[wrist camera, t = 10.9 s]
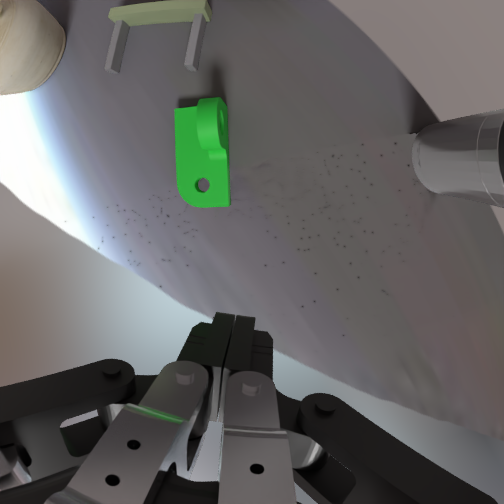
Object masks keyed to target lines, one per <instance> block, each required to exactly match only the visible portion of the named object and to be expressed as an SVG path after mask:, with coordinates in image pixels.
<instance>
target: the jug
mask: <svg viewBox="0 0 504 504" xmlns="http://www.w3.org/2000/svg"><path fill="white" fill-rule="evenodd" d="M65 44H66V36H65V32H64V29H63V28H62V26H61V25H60V24H59V23H58V21H57V20H56V19H55V18H54V17H53V16H52V15H51V14H50V13H49V12H48V11H47V10H46V9H45V8H44V7H43V6H42V5H41V4H40V3H39V2H38V1H36V0H0V95H7V94H16V93H22V92H26V91H31V90H34V89H36V88H37V87H39V86H40V85H42V84H43V83H44V82H45V81H46V80H47V79H48V78H49V77H50V76H51V74H52V73H53V72H54V70H55V69H56V67H57V66H58V64H59V62H60V60H61V58H62V55H63V52H64V49H65Z"/></svg>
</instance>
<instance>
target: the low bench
mask: <svg viewBox="0 0 504 504" xmlns="http://www.w3.org/2000/svg"><path fill="white" fill-rule="evenodd" d="M211 16H212V11H211V9H210V6H209V4H208V2H207V0H170V1H158V2H149V3H141V4H134V5H127V6H121V7H115V8H111V9H110V13H109V16H108V18H110V19H111V20H112V21H113V22H115V27H114V30H113V34H112V38H111V42H110V46H109V50H108V54H107V59H106V63H105V68H104V70H106V71H108V72H110V73H112V74H118V73H119V72H120V67H121V62H122V57H123V53H124V48H125V44H126V40H127V36H128V32H129V28H130V26H137V25H146V24H158V23H173V22H193V23H192V28H191V33H190V38H189V43H188V48H187V53H186V58H185V64H184V65H185V67H186V68H187V69H188V70H189V71H197V70H198V64H199V58H200V53H201V47H202V42H203V37H204V32H205V27H206V22H210V21H211Z"/></svg>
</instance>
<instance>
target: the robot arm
mask: <svg viewBox="0 0 504 504" xmlns="http://www.w3.org/2000/svg"><path fill="white" fill-rule="evenodd" d="M412 161H413V166H414V169H415V173H416V174H417V176H418V178H419V180H420V181H421V182H422V184H423V185H424V186H425V187H427V188H428V189H429V190H431V191H433V192H435V193H439V194H443V195H448V196H453V197H458V198H462V199H467V200H472V201H476V202H481V203H485V204H489V205H494V206H498V207H502V208H504V109H500V110H496V111H490V112H486V113H480V114H476V115H471V116H466V117H461V118H457V119H452V120H447V121H443V122H439V123H434V124H430V125H428V126H426V127H424V128H423V129H422V130H421V131H420V132H419V133H418V135H417V136H416V138H415V141H414V143H413V148H412ZM254 326H255V317H248V316H241V315H237V316H236V320H235V315H233V314H227V313H220V312H216V314H215V317H214V319H213V322H212V324H210V323H204V322H201V323H199V324H198V325H196V326H194V327H193V328H192V330H191V332H190V334H189V336H188V338H187V340H186V342H185V344H184V346H183V348H182V350H181V352H180V354H179V356H178V358H177V361H175V362H172V363H169V364H167V365H166V366H165V367H164V368H163V369H162V370H161V372H160V374H158V375H135V372H134V369H133V367H132V366H131V365H130V364H129V363H127V362H125V361H122V360H118V359H105V360H101V361H97V362H94V363H90V364H87V365H84V366H80V367H77V368H73V369H69V370H66V371H62V372H58V373H55V374H51V375H47V376H43V377H40V378H36V379H32V380H28V381H24V382H20V383H16V384H12V385H8V386H3V387H0V504H301V503H299V502H297V501H296V493H295V486H294V482H295V483H296V484H297V485H298V486H299V487H300V488H301V489H303V490H304V491H305V492H306V493H307V494H308V495H309V496H310V497H311V498H312V499H313V500H314V501H316V502H317V503H318V504H498V503H497V502H496V501H495V500H494V499H493V498H492V497H491V496H489V495H487V494H485V493H484V492H482V491H480V490H478V489H477V488H475V487H473V486H471V485H470V484H468V483H466V482H464V481H463V480H461V479H459V478H458V477H456V476H454V475H453V474H451V473H449V472H448V471H446V470H444V469H443V468H441V467H440V466H438V465H436V464H435V463H433V462H432V461H430V460H429V459H427V458H425V457H424V456H422V455H421V454H419V453H417V452H416V451H414V450H413V449H411V448H410V447H408V446H407V445H405V444H404V443H402V442H401V441H399V440H398V439H396V438H395V437H393V436H392V435H391V434H389V433H387V432H386V431H385V430H383V429H382V428H380V427H379V426H377V425H376V424H374V423H373V422H372V421H370V420H369V419H367V418H365V417H364V416H363V415H362V414H360V413H359V412H357V411H356V410H355V409H353V408H352V407H350V406H349V405H348V404H346V403H345V402H344V401H342V400H341V399H339V398H337V397H335V396H333V395H330V394H325V393H314V394H311V395H308V396H306V397H305V398H304V399H303V400H302V401H298V400H295V399H292V398H289V397H287V396H285V395H283V394H282V393H280V392H279V391H278V390H277V389H276V388H275V384H274V382H273V339H272V337H271V336H270V335H269V333H268V332H265V331H258V330H254ZM219 408H220V411H219ZM96 409H97V412H98V416H97V417H94V418H91V419H88V420H85V421H82V422H79V423H76V424H73V425H70V426H67V427H63V428H60V425H61V423H62V422H63V421H65V420H66V419H69V418H73V417H76V416H79V415H82V414H85V413H88V412H91V411H94V410H96ZM218 412H219V422H222V423H223V427H222V436H221V446H220V458H219V470H218V481H213V482H212V481H211V482H194V481H190V480H189V479H190V476H191V474H192V471H193V468H194V466H195V463H196V460H197V458H198V455H199V452H200V450H201V447H202V444H203V441H204V438H205V432H206V430H207V427H208V423H209V421H215V422H216V421H217V417H218ZM331 455H332V456H333V457H332V456H331ZM337 460H338V461H339V462H338V461H337ZM342 464H343V465H344V466H343V465H342ZM347 468H348V469H349V470H348V469H347Z"/></svg>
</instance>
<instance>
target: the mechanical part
mask: <svg viewBox="0 0 504 504" xmlns="http://www.w3.org/2000/svg"><path fill="white" fill-rule="evenodd" d="M175 146H176V171H177V186H178V190H179V193H180V195H181V196H182V198H183V199H184V200H185V201H186V202H187V203H189V204H190V205H193V206H195V207H227V206H230V205H231V197H230V172H229V145H228V114H227V106H226V104H225V103H224V102H223V100H222V99H221V97H215V98H204V99H199V101H198V104H197V106H196V107H187V108H178V109H175ZM201 178H206V179H207V180H208V181H209V183H210V187H209V189H208V191H206V192H203V191H201V190H200V189H199V187H198V182H199V180H200V179H201Z"/></svg>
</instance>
